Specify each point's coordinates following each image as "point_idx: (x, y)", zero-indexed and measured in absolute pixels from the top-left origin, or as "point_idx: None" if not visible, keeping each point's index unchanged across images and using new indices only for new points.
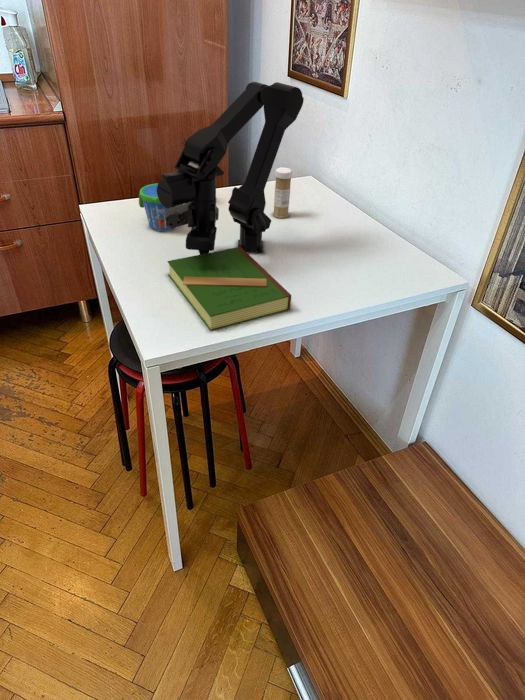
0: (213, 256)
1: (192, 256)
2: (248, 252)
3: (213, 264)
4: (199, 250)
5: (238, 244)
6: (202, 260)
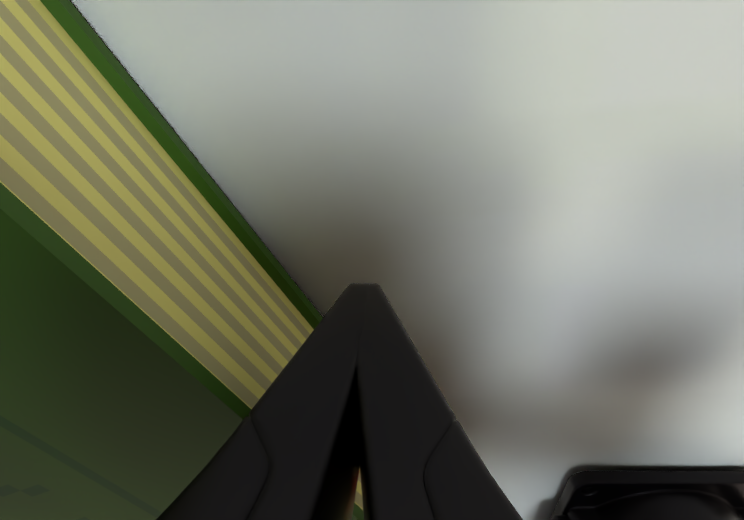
0: None
1: (71, 281)
2: (554, 510)
3: (2, 498)
4: (269, 396)
5: (687, 485)
6: (22, 412)
